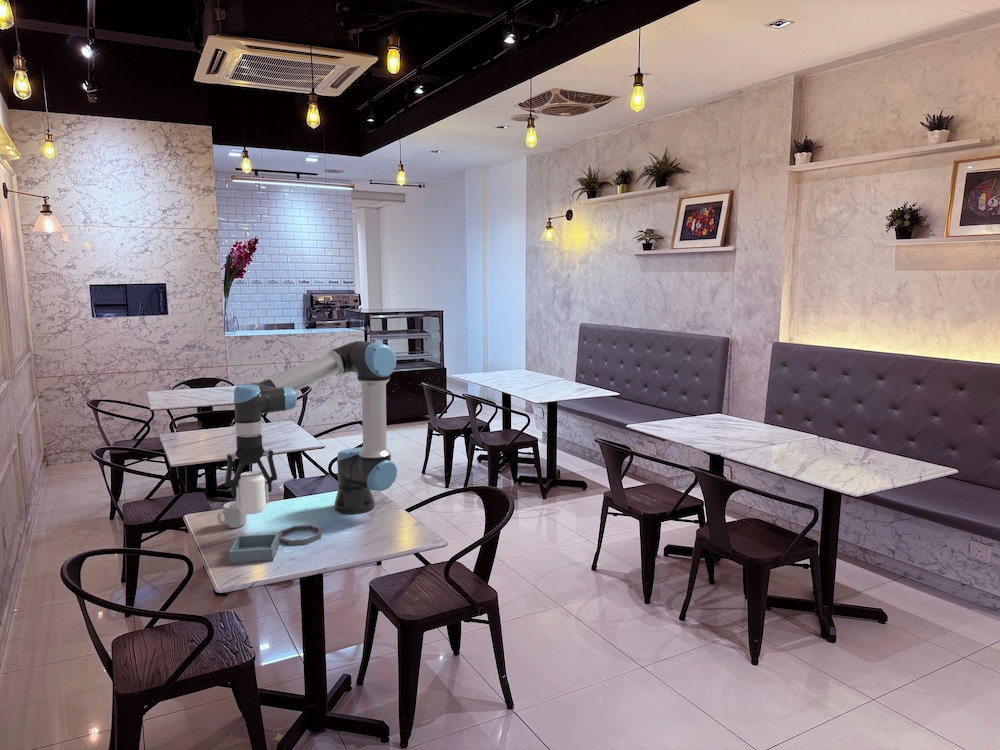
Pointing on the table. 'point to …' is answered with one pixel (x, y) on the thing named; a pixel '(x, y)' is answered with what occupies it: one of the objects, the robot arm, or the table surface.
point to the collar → (300, 541)
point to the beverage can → (252, 492)
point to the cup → (232, 515)
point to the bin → (254, 548)
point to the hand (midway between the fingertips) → (252, 504)
